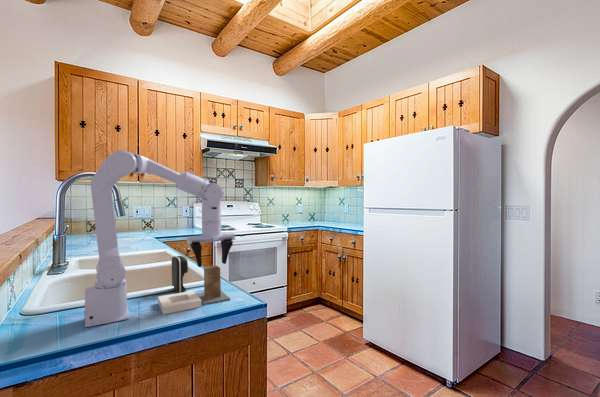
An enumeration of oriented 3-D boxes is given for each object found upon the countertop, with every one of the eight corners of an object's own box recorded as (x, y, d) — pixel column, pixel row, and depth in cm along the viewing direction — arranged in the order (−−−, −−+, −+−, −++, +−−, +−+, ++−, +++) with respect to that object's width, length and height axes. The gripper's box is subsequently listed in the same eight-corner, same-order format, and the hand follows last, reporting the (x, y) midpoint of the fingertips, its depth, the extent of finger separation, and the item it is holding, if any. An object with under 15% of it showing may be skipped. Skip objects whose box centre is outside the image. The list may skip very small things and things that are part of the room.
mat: (203, 305, 90) (203, 303, 90) (195, 295, 98) (195, 294, 98) (230, 299, 94) (230, 298, 94) (220, 291, 102) (220, 289, 102)
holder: (163, 314, 83) (162, 307, 83) (158, 303, 92) (158, 296, 92) (201, 306, 88) (201, 300, 88) (193, 296, 97) (193, 290, 97)
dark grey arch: (189, 291, 103) (188, 257, 102) (177, 293, 100) (177, 258, 100) (182, 286, 108) (182, 254, 108) (171, 288, 106) (171, 255, 106)
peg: (207, 299, 93) (207, 269, 93) (204, 295, 97) (203, 267, 97) (220, 296, 95) (220, 268, 95) (216, 293, 99) (216, 265, 99)
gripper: (190, 223, 88) (190, 270, 89) (238, 221, 96) (238, 264, 96) (185, 221, 94) (185, 265, 95) (230, 219, 102) (231, 260, 102)
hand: (212, 264), depth 96 cm, fingers open, 7 cm apart
